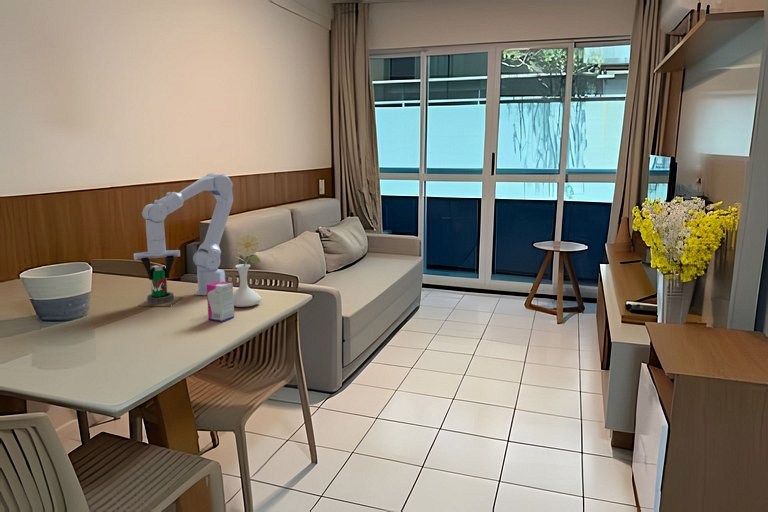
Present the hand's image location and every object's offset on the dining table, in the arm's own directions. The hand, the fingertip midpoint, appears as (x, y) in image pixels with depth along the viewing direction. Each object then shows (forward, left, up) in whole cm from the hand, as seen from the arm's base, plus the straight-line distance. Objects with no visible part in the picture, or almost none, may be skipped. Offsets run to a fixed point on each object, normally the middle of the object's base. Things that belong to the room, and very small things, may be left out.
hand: (159, 278), depth 181 cm
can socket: (0, 0, -8) cm, 8 cm away
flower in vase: (-31, +2, -9) cm, 32 cm away
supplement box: (-27, +17, -9) cm, 33 cm away
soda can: (0, 0, -8) cm, 8 cm away
